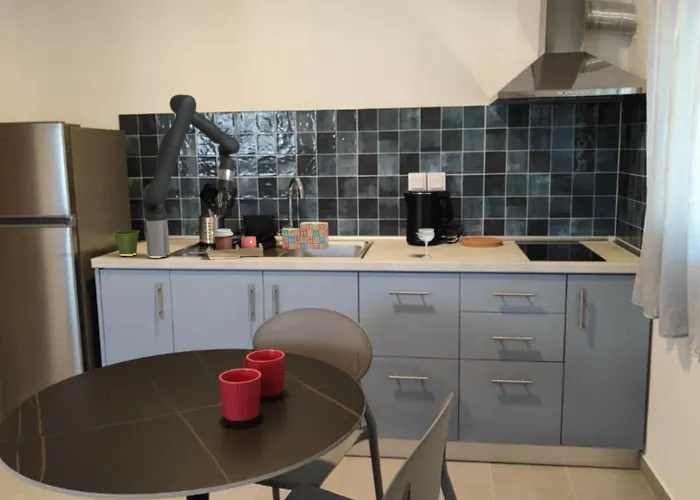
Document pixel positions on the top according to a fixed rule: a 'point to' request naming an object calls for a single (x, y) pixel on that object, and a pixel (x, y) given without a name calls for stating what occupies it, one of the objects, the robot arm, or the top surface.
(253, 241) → the red rounded block
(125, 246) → the plant pot
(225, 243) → the coffee cup
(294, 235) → the stack of blocks
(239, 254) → the oak rack
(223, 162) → the robot arm
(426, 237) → the wineglass
